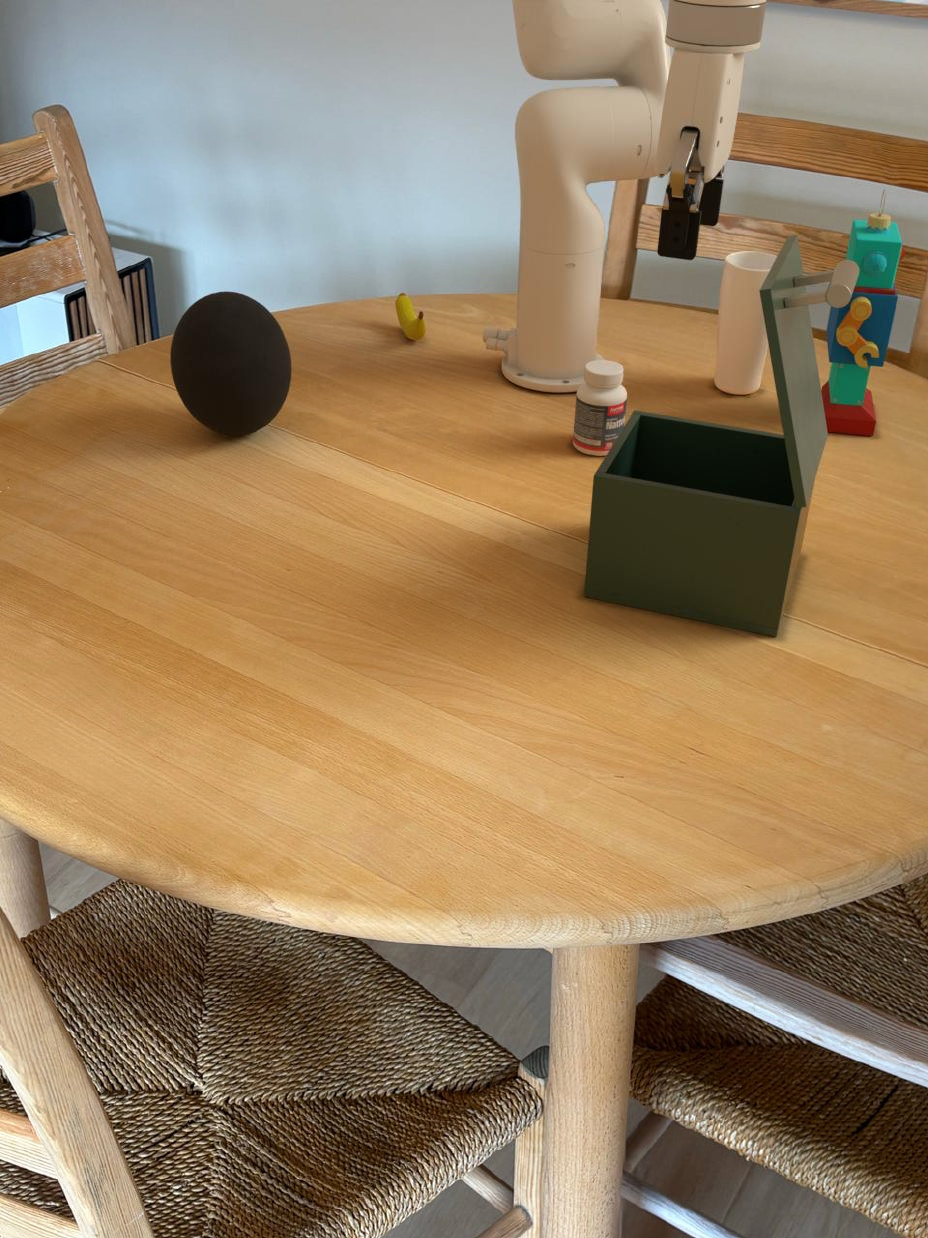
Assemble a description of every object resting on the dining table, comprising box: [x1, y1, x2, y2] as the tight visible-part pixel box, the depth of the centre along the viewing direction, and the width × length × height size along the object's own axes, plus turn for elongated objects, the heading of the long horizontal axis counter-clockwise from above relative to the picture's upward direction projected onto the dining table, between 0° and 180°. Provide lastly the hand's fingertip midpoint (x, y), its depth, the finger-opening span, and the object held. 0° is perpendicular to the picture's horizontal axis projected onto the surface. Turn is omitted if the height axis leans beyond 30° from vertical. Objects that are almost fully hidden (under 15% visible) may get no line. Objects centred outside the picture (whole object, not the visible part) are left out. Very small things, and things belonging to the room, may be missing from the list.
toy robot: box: [821, 188, 906, 437], centre depth 132 cm, size 12×6×25 cm, turn 168°
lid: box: [759, 234, 859, 508], centre depth 97 cm, size 17×14×6 cm
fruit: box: [395, 292, 427, 341], centre depth 155 cm, size 10×2×5 cm, turn 17°
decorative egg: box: [169, 290, 293, 437], centre depth 130 cm, size 12×12×15 cm
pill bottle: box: [572, 359, 628, 457], centre depth 130 cm, size 5×5×9 cm
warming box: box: [583, 409, 816, 638], centre depth 107 cm, size 17×14×12 cm
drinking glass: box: [713, 250, 778, 396], centre depth 141 cm, size 7×7×15 cm
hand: (688, 239), depth 108 cm, fingers open, 9 cm apart
